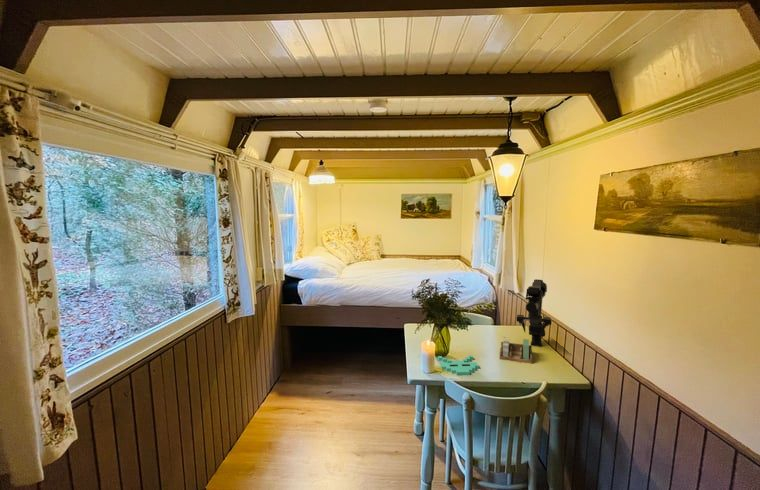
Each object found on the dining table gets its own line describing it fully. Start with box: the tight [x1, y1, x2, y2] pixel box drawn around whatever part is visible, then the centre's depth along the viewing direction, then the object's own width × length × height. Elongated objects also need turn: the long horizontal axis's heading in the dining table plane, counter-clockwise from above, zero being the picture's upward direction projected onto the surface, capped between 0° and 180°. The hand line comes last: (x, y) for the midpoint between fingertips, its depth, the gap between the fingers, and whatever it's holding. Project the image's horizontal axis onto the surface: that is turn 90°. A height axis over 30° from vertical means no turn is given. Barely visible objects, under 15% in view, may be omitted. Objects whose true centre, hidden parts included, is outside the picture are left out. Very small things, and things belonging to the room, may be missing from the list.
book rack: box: [499, 338, 533, 365], centre depth 196 cm, size 14×17×8 cm
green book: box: [522, 338, 530, 360], centre depth 193 cm, size 10×3×8 cm, turn 156°
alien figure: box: [437, 354, 480, 376], centre depth 185 cm, size 20×2×20 cm
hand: (533, 333), depth 200 cm, fingers open, 9 cm apart
